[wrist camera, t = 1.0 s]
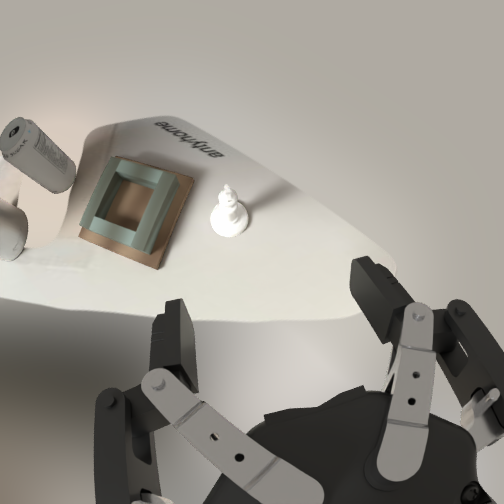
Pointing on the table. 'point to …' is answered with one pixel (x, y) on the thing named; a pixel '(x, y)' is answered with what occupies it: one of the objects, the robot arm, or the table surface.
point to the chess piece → (229, 214)
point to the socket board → (135, 210)
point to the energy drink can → (37, 155)
